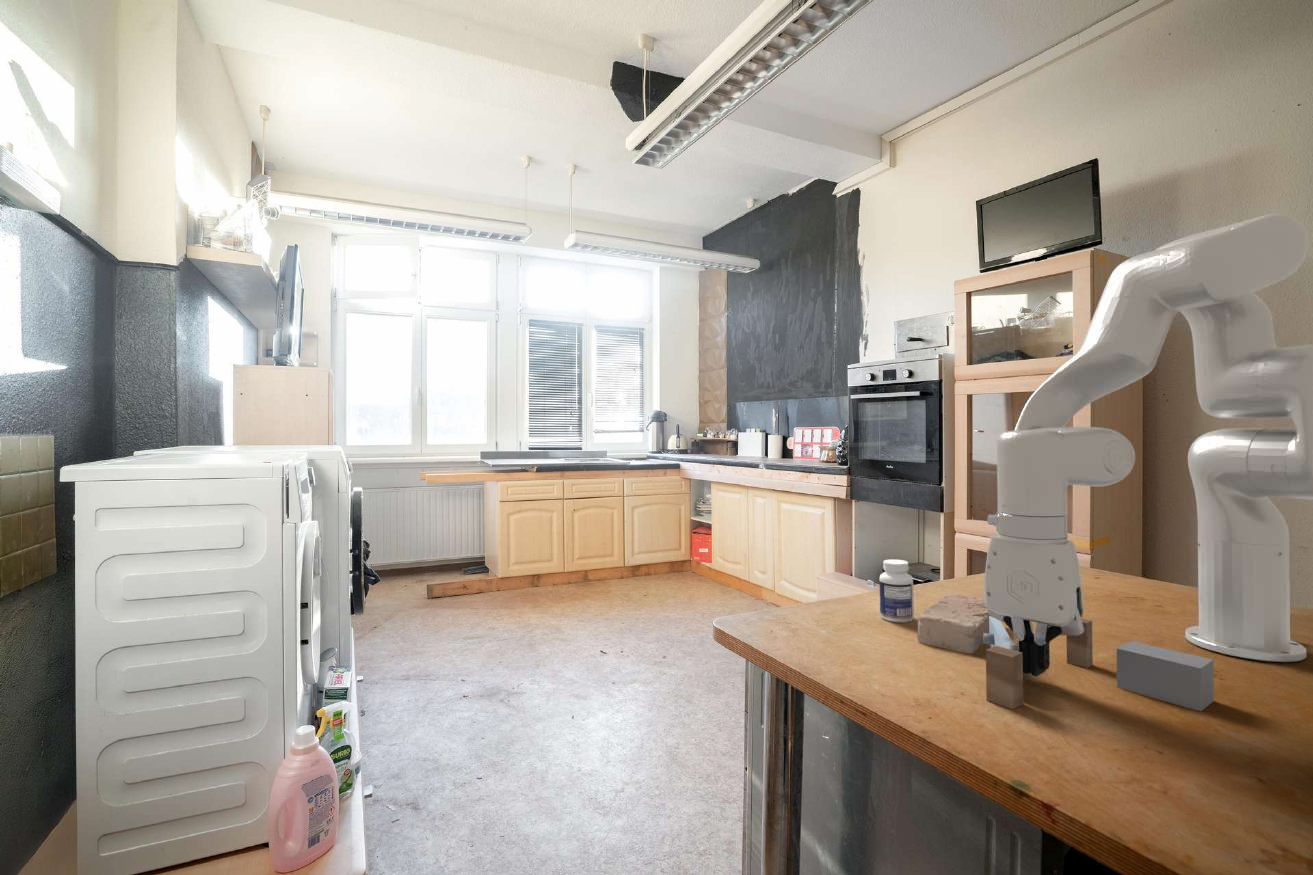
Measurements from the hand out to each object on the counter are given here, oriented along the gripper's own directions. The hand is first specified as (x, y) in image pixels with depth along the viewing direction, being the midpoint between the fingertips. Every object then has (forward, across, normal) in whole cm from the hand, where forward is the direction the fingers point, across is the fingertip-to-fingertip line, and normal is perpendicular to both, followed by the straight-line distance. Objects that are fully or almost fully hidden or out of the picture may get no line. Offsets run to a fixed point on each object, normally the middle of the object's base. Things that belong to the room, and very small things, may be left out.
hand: (1034, 671), depth 77 cm
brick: (+2, -15, +11) cm, 19 cm away
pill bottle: (+2, -26, +11) cm, 28 cm away
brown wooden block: (+1, 0, -9) cm, 9 cm away
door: (+1, -4, 0) cm, 4 cm away
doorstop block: (+2, +11, +8) cm, 14 cm away
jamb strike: (+1, +1, +11) cm, 11 cm away
